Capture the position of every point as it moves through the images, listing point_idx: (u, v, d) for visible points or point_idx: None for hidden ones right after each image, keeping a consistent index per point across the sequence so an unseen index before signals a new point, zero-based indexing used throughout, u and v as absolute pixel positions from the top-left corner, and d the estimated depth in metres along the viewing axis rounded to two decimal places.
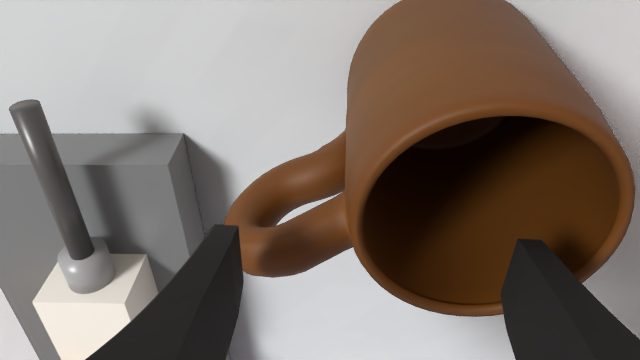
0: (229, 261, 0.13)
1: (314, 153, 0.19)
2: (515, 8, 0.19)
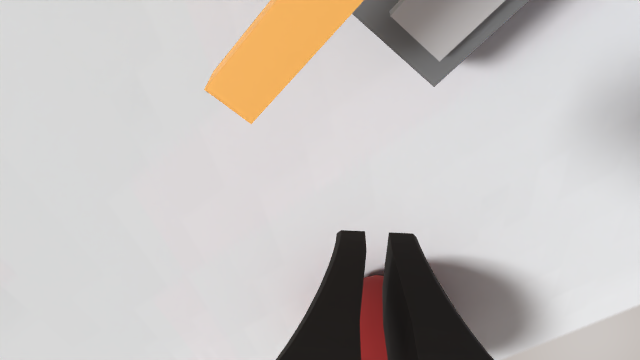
0: None
1: None
2: None
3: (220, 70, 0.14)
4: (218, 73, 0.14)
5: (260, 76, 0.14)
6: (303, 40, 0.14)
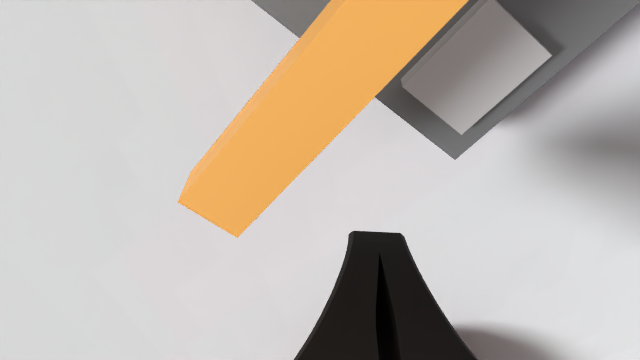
0: None
1: None
2: None
3: (196, 181, 0.12)
4: (193, 184, 0.12)
5: (245, 187, 0.12)
6: (296, 146, 0.11)
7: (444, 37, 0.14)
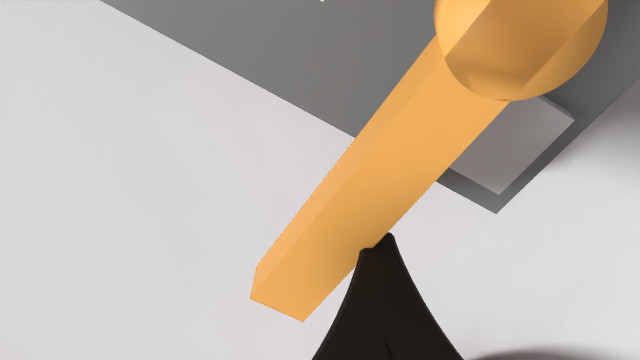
0: None
1: None
2: None
3: (264, 281, 0.14)
4: (262, 284, 0.14)
5: (306, 283, 0.13)
6: (347, 249, 0.13)
7: None
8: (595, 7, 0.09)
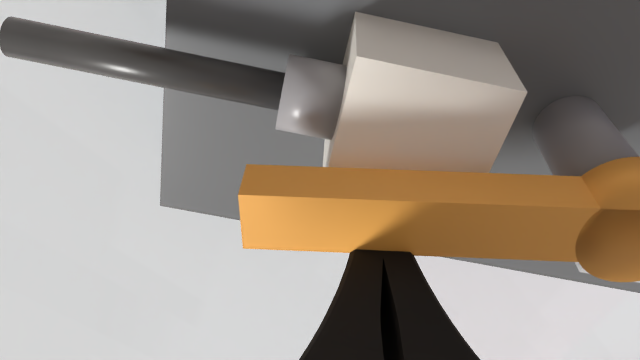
0: None
1: None
2: None
3: (271, 195, 0.12)
4: (268, 197, 0.12)
5: (299, 229, 0.12)
6: (365, 238, 0.12)
7: None
8: None
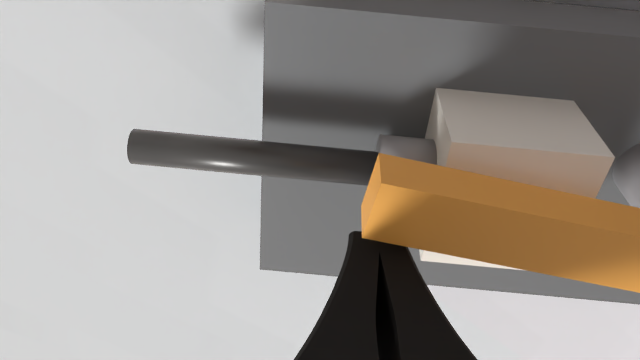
0: None
1: None
2: None
3: (414, 189, 0.11)
4: (410, 190, 0.11)
5: (428, 227, 0.12)
6: (488, 247, 0.12)
7: None
8: None
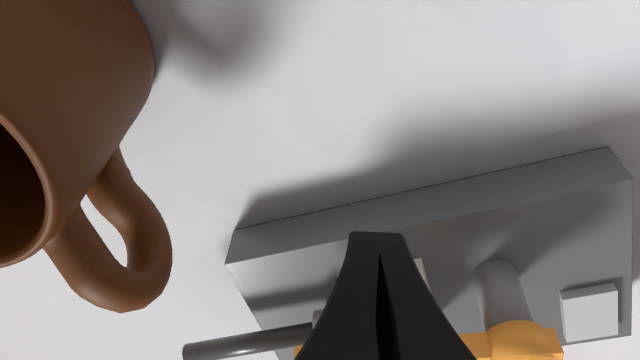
0: None
1: None
2: None
3: None
4: None
5: None
6: None
7: (562, 315, 0.26)
8: None
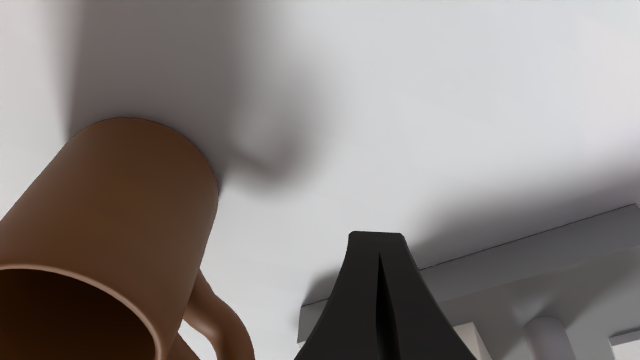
0: None
1: None
2: None
3: None
4: None
5: None
6: None
7: (614, 357, 0.28)
8: None
